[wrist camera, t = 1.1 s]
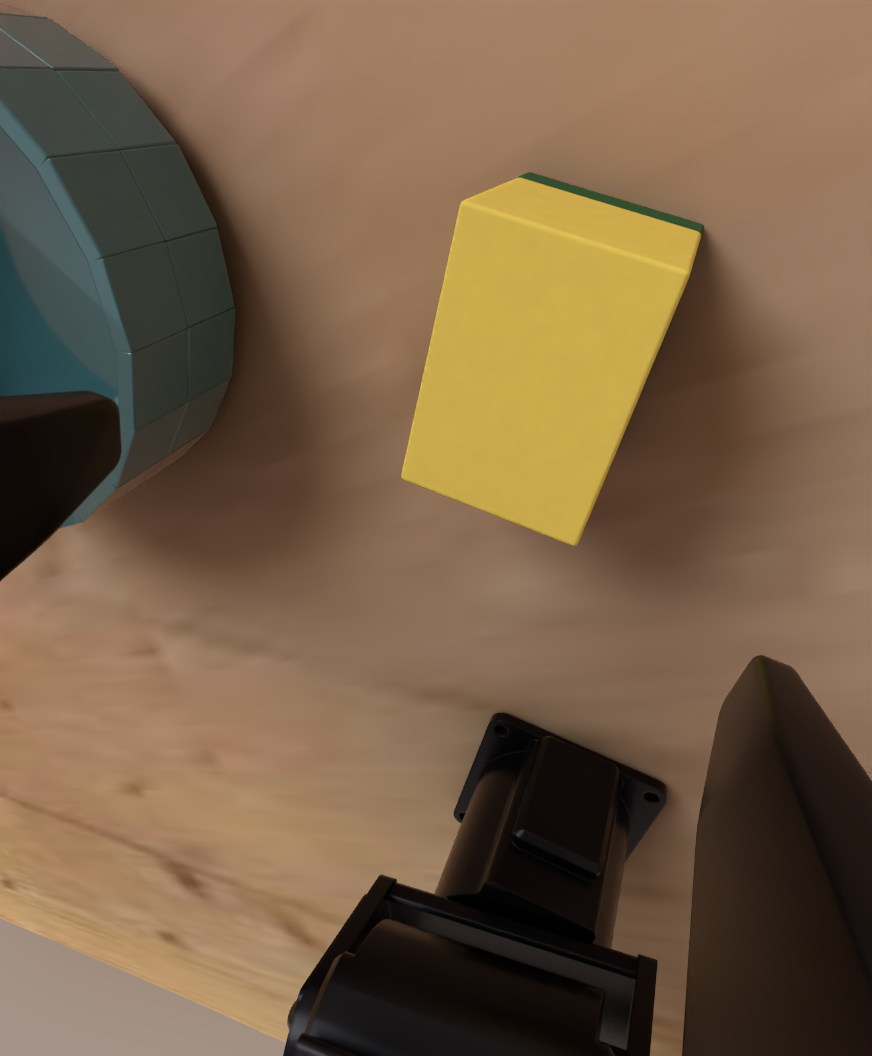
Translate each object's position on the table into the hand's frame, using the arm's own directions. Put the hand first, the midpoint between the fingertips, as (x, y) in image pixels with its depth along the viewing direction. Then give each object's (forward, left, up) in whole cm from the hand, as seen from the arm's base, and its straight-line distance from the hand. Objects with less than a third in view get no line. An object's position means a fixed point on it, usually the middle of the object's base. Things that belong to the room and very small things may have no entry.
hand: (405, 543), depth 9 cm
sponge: (0, 0, -11) cm, 11 cm away
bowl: (-3, +16, -11) cm, 20 cm away
